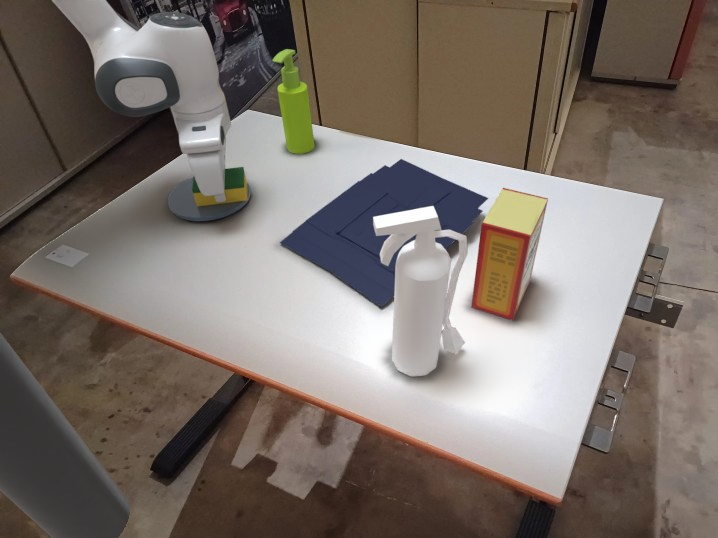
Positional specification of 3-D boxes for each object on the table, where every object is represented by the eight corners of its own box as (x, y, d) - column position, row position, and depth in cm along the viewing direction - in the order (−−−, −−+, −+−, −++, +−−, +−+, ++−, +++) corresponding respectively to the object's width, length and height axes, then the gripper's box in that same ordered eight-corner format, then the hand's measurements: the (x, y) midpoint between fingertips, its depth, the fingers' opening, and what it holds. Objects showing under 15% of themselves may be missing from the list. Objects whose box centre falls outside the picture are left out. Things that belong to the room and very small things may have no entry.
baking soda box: (490, 269, 90) (503, 185, 78) (530, 281, 88) (548, 196, 77) (471, 307, 84) (481, 221, 72) (512, 320, 82) (530, 234, 70)
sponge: (197, 206, 100) (191, 189, 98) (198, 188, 104) (193, 172, 102) (247, 200, 102) (243, 183, 99) (247, 183, 106) (243, 166, 103)
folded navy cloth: (496, 214, 98) (497, 198, 96) (384, 319, 85) (382, 304, 82) (395, 167, 110) (393, 151, 107) (282, 253, 96) (277, 238, 94)
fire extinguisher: (471, 372, 75) (492, 223, 57) (383, 384, 73) (377, 235, 56) (459, 335, 80) (475, 187, 62) (376, 345, 78) (369, 197, 61)
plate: (166, 228, 98) (164, 222, 97) (173, 183, 108) (170, 177, 107) (252, 218, 100) (250, 211, 99) (250, 174, 111) (249, 168, 110)
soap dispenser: (279, 153, 116) (262, 56, 102) (295, 138, 121) (281, 43, 107) (303, 158, 115) (289, 60, 101) (319, 143, 119) (308, 47, 105)
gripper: (186, 93, 99) (206, 162, 109) (178, 150, 85) (201, 223, 95) (222, 90, 100) (239, 158, 110) (220, 146, 86) (239, 218, 96)
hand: (221, 188), depth 102 cm, fingers closed on sponge, 6 cm apart
